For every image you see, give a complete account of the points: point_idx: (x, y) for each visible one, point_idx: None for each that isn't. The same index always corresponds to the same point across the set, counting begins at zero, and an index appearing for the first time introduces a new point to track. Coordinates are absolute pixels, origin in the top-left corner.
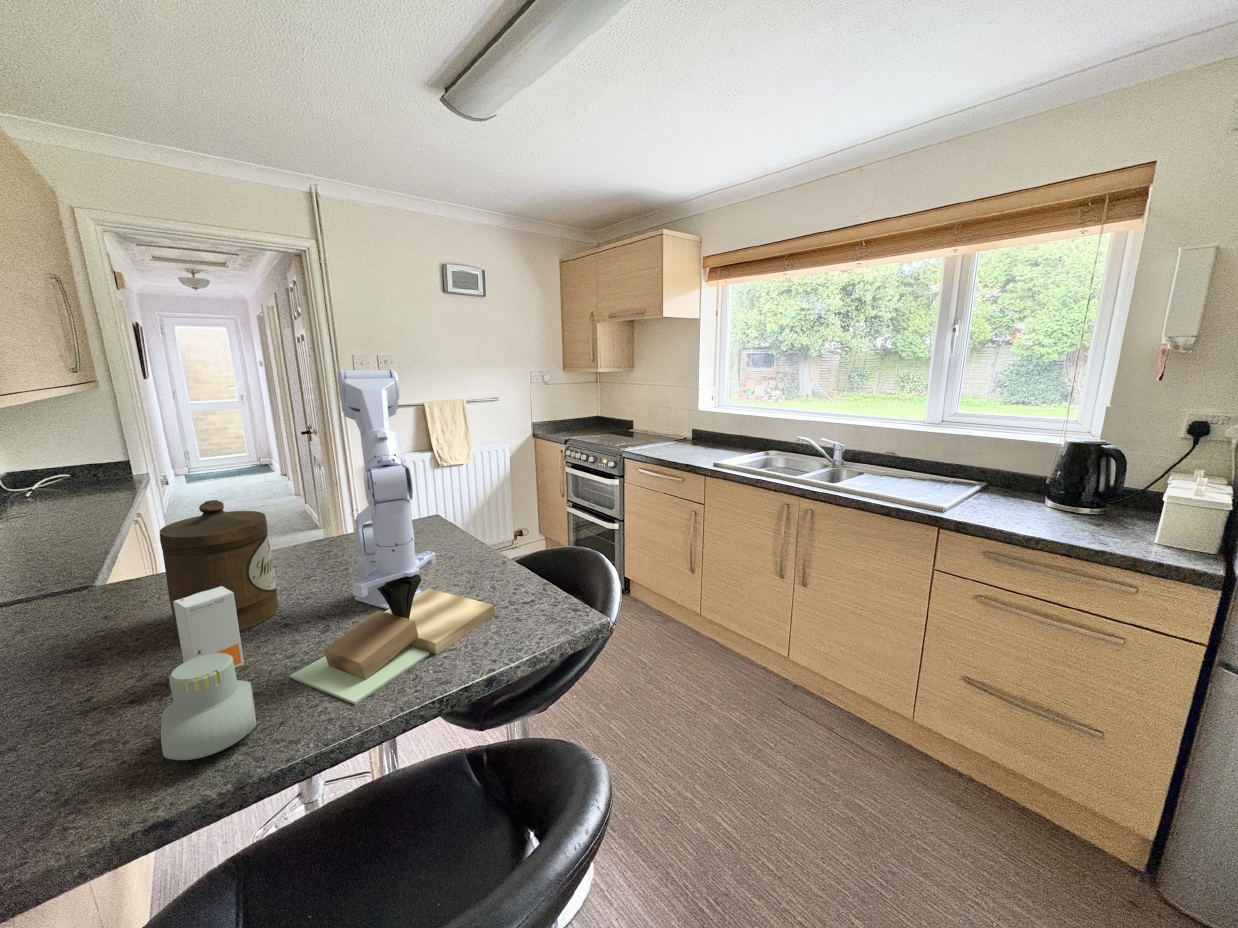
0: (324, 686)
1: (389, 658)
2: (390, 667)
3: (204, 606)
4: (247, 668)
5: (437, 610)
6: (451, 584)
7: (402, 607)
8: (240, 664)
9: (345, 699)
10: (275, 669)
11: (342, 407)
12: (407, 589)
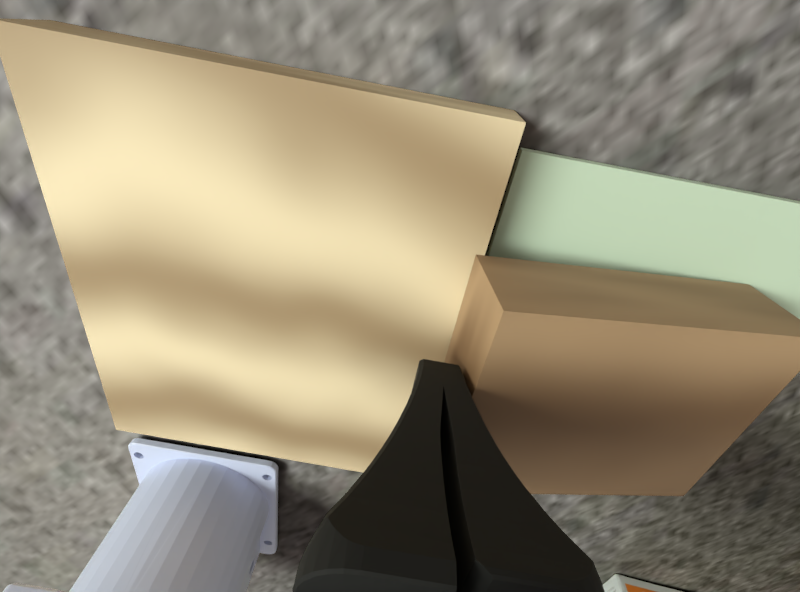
0: None
1: (642, 276)
2: (656, 247)
3: None
4: (632, 561)
5: (234, 307)
6: (15, 382)
7: (482, 429)
8: (625, 579)
9: None
10: (637, 521)
11: None
12: (481, 528)
